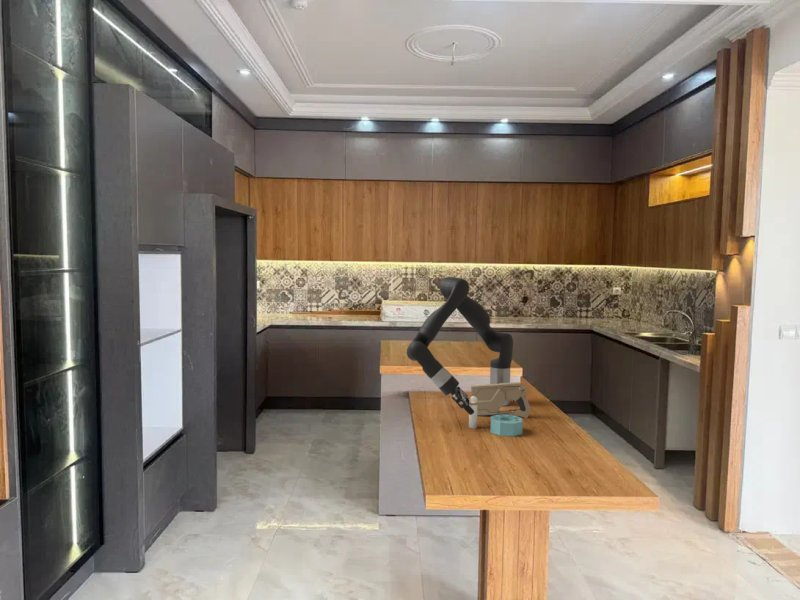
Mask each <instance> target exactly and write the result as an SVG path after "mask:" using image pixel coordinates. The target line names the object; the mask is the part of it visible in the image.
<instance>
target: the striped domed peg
mask: <svg viewBox="0 0 800 600" xmlns="http://www.w3.org/2000/svg"><path fill="white" fill-rule="evenodd" d="M468 400H469V406H470V407H471V408H472V409H473V410H474V413H473V414H472V415H470V414H469V413H468V428H469V429H477V428H478V416H477V405H478V402H477V398H476V397H475V396H472V395H471V396H470V397H469V399H468Z"/></svg>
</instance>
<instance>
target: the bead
mask: <svg viewBox="0 0 800 600" xmlns="http://www.w3.org/2000/svg"><path fill="white" fill-rule="evenodd" d="M523 422H524V421H523V417H520V416H516V415H512V414H499V415H490V433H491V434H493V435H494V434H495V435H496V436H498V437H499V436H502V437H516V436H521V435H523V425H524V424H523Z"/></svg>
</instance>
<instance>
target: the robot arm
mask: <svg viewBox="0 0 800 600" xmlns="http://www.w3.org/2000/svg"><path fill="white" fill-rule="evenodd" d="M439 291H440V293H441V295H442V296H443V298H445V299H446V301H445V302H444V303H443V304H442V305H441V306H439V307H438V308H437V309H436V310H434V311H433V312H432V313H430V314H429V315H428V316H427V318H426V319H425V321H424V322H423V324H422V325H421V327H420V328H419V330H418V332H417V334H416V335H415V337H414V338H413V339H412V341H411V342H409V343H410V344H409V345H408V346H407V348H406V355H407V358H408V359H409V360H411V361H412V362H413V361H416V362H417V363H418V364H419V365H420V366H421V368H422V371H423V372H424V373H425V374H426V376H427V377H428V378H429V379H430V380H431V381H432V383H433V384H434V385H435V386H436V388H438V389H439V390H440V391H441V392H442V394H444V396H448V395H452V396H451V400H453V401H454V402H455V403H456V405H458V407H460V409H464V410H465V412H467V413H468V415H469V414H470V415H472V414H473V413H474V410H473V409H472V408H471V407H470V406H469V399H470V397H469V396H468V394H466V392H464V390H463V389H462V388H461V387H460V386H459V385H460V382H459V380H458V379H457V378H456V377H455V376H454V375H453V374H451V372H450V371H449V370H448V369H447V368H446V367H445V366H443V365H442V364H441V363H440V362H439V360H437V359H436V358H435V356H434V355H433V353H432V351H430V349H429V346H430V344H431V343H432V342H433V341H434V340H435V339H436V336H438V334H439V332H440V331H441V328H442V327H443V326H444V324H445V323H446V322H447V320H448V319H449V318H450V317H451V315H453V313H454V312H455V311H456V310H457V311H458V312H459V313H460V315H461V316H462V317H463V318H464V319H465V320H466V322H467V323H468V324H469V325H470V326H471V327H472V328H473V330H475V332H476V333H477V334H478V335H479V336H480V338H481V339H482V340H483V343H484V344H485V346H486V347H487V348H488V349H489V350H490V351H491V352H495V353H498V355H499V356H498V357H497V358H495V359H492V360H490V362H489V363H490V364H489V365H490V367H489V384H499V383H511V364H512V361H513V349H514V339H513V336H512V335H511V334H510V333H508V332H499V331H496V330H494V329H493V328H492V327H491V317H490V314H489V313H488V312H487V310H486V309H485V308H484V306H483V305H481V304H480V303H479V302H477V301H476V300H474V299H473V298H471V297H469V296H468V295H469V291H470V284H469V282H468V281H467V280H466V279H465V278H459V277H454V276H446V277H444V278H443V279H442V280H441V281H440V284H439ZM510 401H511V400H505V402H504V404H503V405H502V406H501V407H503V406H504V407H505V406H509V405H510Z"/></svg>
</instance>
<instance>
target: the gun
mask: <svg viewBox="0 0 800 600" xmlns="http://www.w3.org/2000/svg"><path fill="white" fill-rule="evenodd" d="M470 388H471V396H475V397H476V398H477V402H478V405H477V417H486V416H494V415H499V414H503V415H514V416H517V417H521V418H524V419H525V418H526V419H528V417H529V415H530V412H531V408H532V407H531V406H530V403H529V400H528V398H527V395H526V394H527V393H528V391H529V390H528V388H527V387H526V386H524V385H523V384H522V383H521V382H519V381H517V382H510V383H499V384H490V383H487V384H471V385H470ZM521 389H523V390H521ZM505 400H510V401H512V404H515V401H516V402H517V406H518V407H519V408H516V409H509V410H500V409H501V408H502V407H503V406H502V405H503V404H504V402H505Z"/></svg>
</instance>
